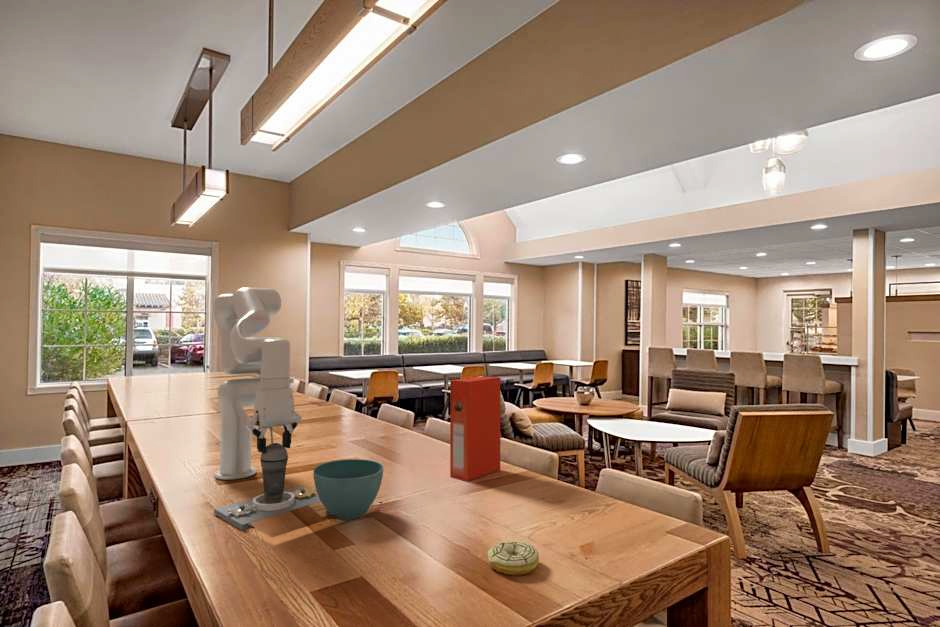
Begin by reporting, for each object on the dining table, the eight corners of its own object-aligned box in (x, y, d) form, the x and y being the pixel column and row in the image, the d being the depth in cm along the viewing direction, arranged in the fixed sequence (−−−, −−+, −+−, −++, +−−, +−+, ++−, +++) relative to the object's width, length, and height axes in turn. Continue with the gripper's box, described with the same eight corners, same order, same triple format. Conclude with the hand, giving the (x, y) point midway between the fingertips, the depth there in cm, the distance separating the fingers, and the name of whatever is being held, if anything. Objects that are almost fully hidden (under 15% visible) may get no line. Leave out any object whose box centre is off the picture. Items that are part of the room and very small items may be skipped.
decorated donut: (495, 552, 117) (495, 535, 118) (543, 559, 114) (543, 542, 114) (481, 573, 108) (482, 554, 108) (533, 582, 104) (533, 562, 104)
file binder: (449, 476, 173) (450, 380, 173) (482, 465, 186) (482, 376, 187) (468, 481, 168) (469, 382, 168) (500, 470, 181) (501, 377, 181)
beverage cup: (278, 506, 138) (279, 430, 138) (253, 504, 140) (254, 429, 140) (292, 497, 145) (294, 425, 146) (269, 495, 147) (270, 424, 147)
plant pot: (394, 506, 145) (395, 462, 145) (360, 531, 128) (360, 481, 128) (338, 499, 151) (338, 456, 151) (298, 522, 134) (298, 473, 134)
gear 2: (285, 495, 149) (285, 490, 149) (307, 489, 154) (307, 484, 154) (298, 501, 144) (298, 495, 144) (320, 495, 149) (320, 489, 149)
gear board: (214, 514, 138) (214, 503, 138) (299, 491, 157) (299, 481, 157) (242, 530, 128) (242, 518, 128) (330, 504, 146) (330, 493, 147)
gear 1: (222, 512, 135) (222, 506, 135) (248, 505, 141) (248, 499, 141) (234, 519, 131) (234, 513, 131) (261, 512, 136) (261, 505, 136)
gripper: (296, 380, 152) (295, 442, 152) (237, 385, 139) (236, 453, 139) (310, 382, 147) (310, 446, 147) (250, 388, 134) (249, 458, 134)
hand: (274, 449), depth 143 cm, fingers open, 6 cm apart
